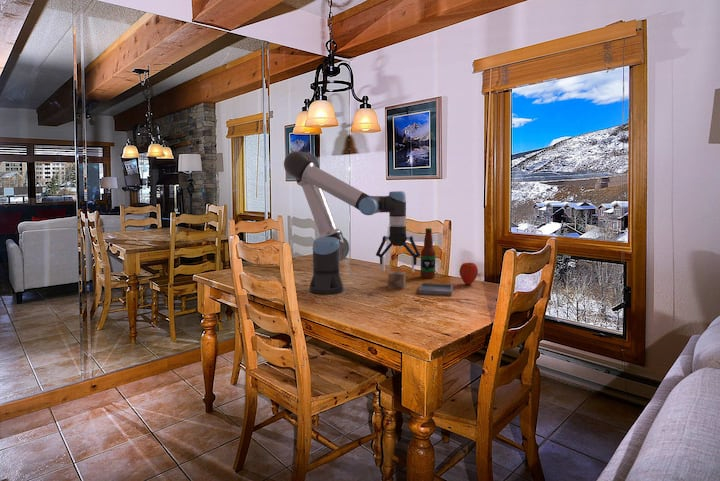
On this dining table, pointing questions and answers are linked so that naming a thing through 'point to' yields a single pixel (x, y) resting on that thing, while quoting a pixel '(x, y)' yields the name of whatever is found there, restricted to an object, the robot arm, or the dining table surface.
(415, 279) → the dining table surface
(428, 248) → the bottle
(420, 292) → the slate tray
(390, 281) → the walnut cube
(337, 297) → the dining table surface
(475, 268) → the apple
